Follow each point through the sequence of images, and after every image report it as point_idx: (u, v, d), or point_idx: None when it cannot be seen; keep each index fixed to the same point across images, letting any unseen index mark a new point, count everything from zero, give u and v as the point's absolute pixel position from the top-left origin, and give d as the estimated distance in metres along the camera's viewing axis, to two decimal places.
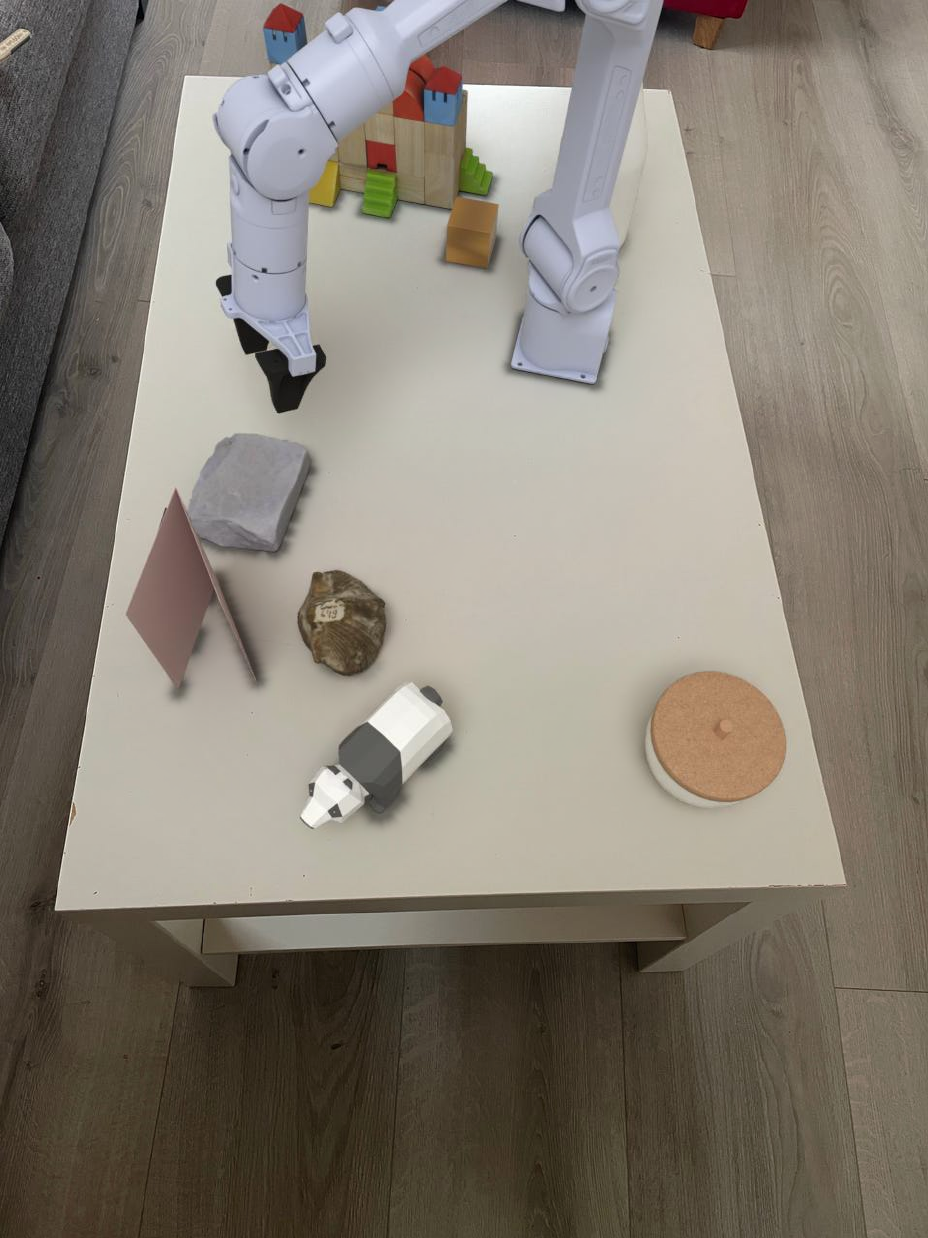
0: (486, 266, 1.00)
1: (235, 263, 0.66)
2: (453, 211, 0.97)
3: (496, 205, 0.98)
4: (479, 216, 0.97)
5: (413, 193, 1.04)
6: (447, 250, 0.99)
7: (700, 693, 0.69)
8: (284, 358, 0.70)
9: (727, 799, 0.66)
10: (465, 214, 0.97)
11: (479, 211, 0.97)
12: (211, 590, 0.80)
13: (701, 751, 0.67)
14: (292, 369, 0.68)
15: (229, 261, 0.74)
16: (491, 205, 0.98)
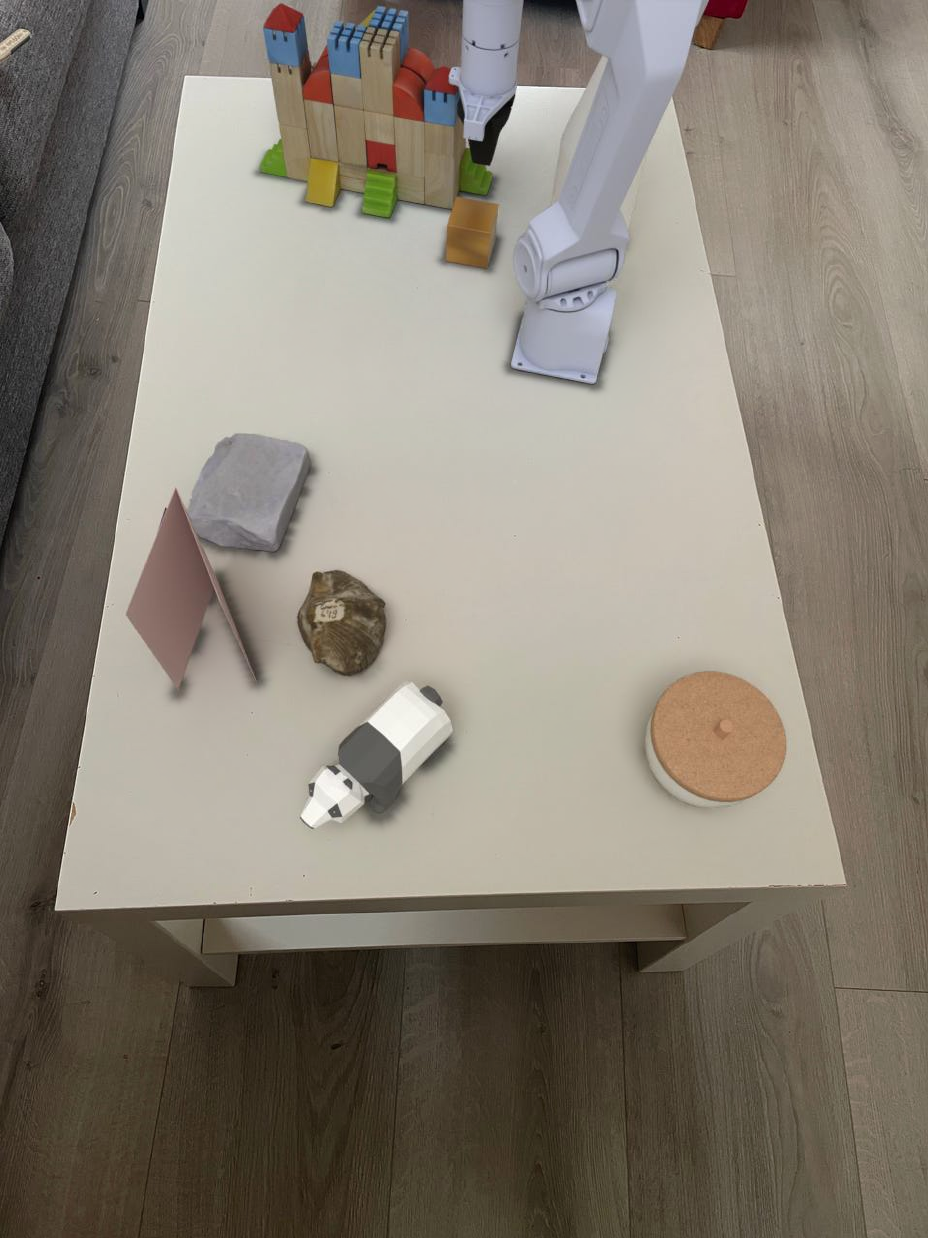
0: (486, 266, 1.00)
1: None
2: (453, 211, 0.97)
3: (496, 205, 0.98)
4: (479, 216, 0.97)
5: (413, 193, 1.04)
6: (447, 250, 0.99)
7: (700, 693, 0.69)
8: None
9: (727, 799, 0.66)
10: (465, 214, 0.97)
11: (479, 211, 0.97)
12: (211, 590, 0.80)
13: (701, 751, 0.67)
14: None
15: None
16: (491, 205, 0.98)
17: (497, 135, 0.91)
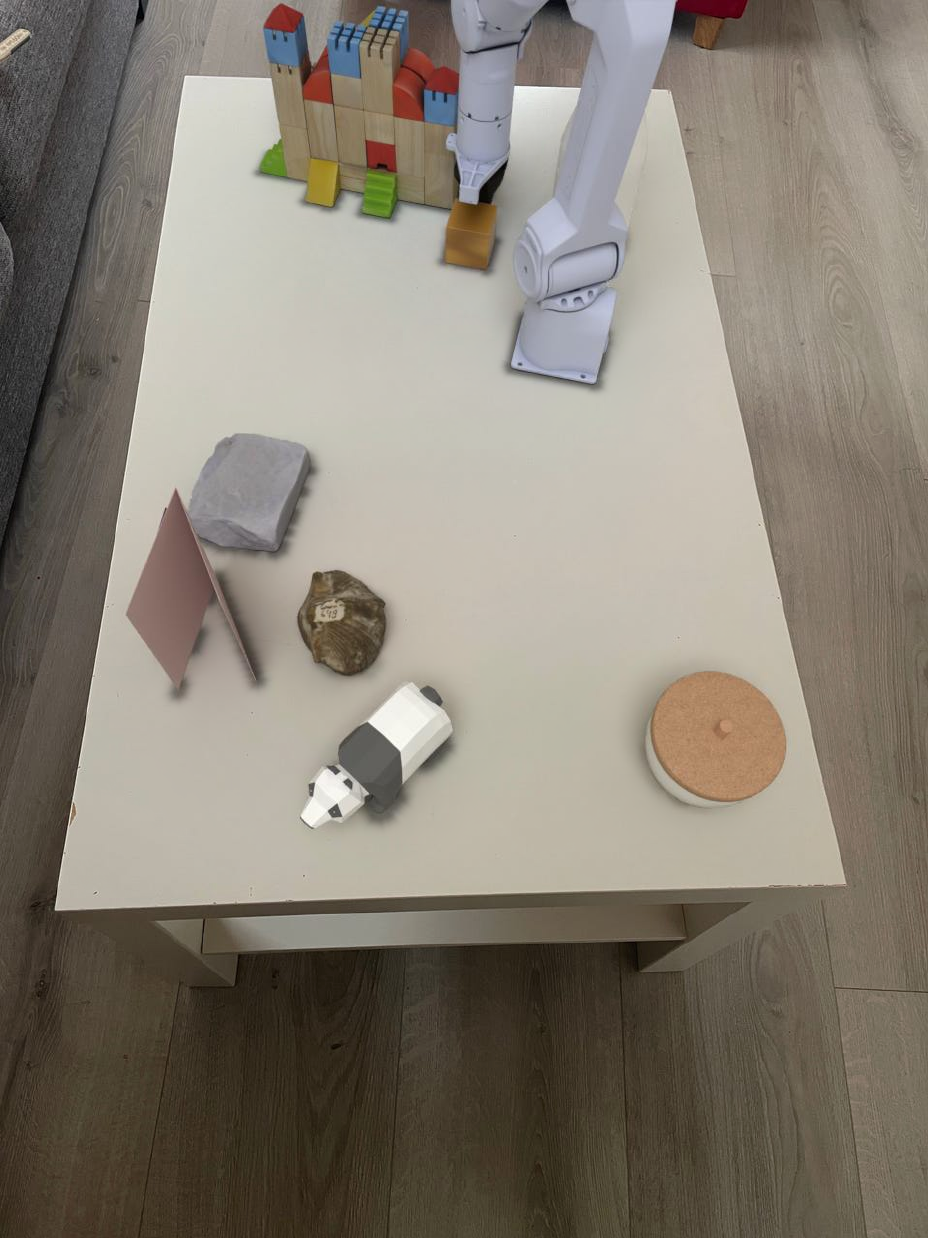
0: (485, 267, 1.00)
1: None
2: (452, 213, 0.97)
3: (495, 206, 0.98)
4: (478, 217, 0.97)
5: (413, 193, 1.04)
6: (446, 252, 0.99)
7: (700, 693, 0.69)
8: None
9: (727, 799, 0.66)
10: (464, 215, 0.97)
11: (478, 212, 0.97)
12: (211, 590, 0.80)
13: (701, 751, 0.67)
14: (459, 194, 0.91)
15: None
16: (490, 206, 0.98)
17: (492, 195, 0.97)
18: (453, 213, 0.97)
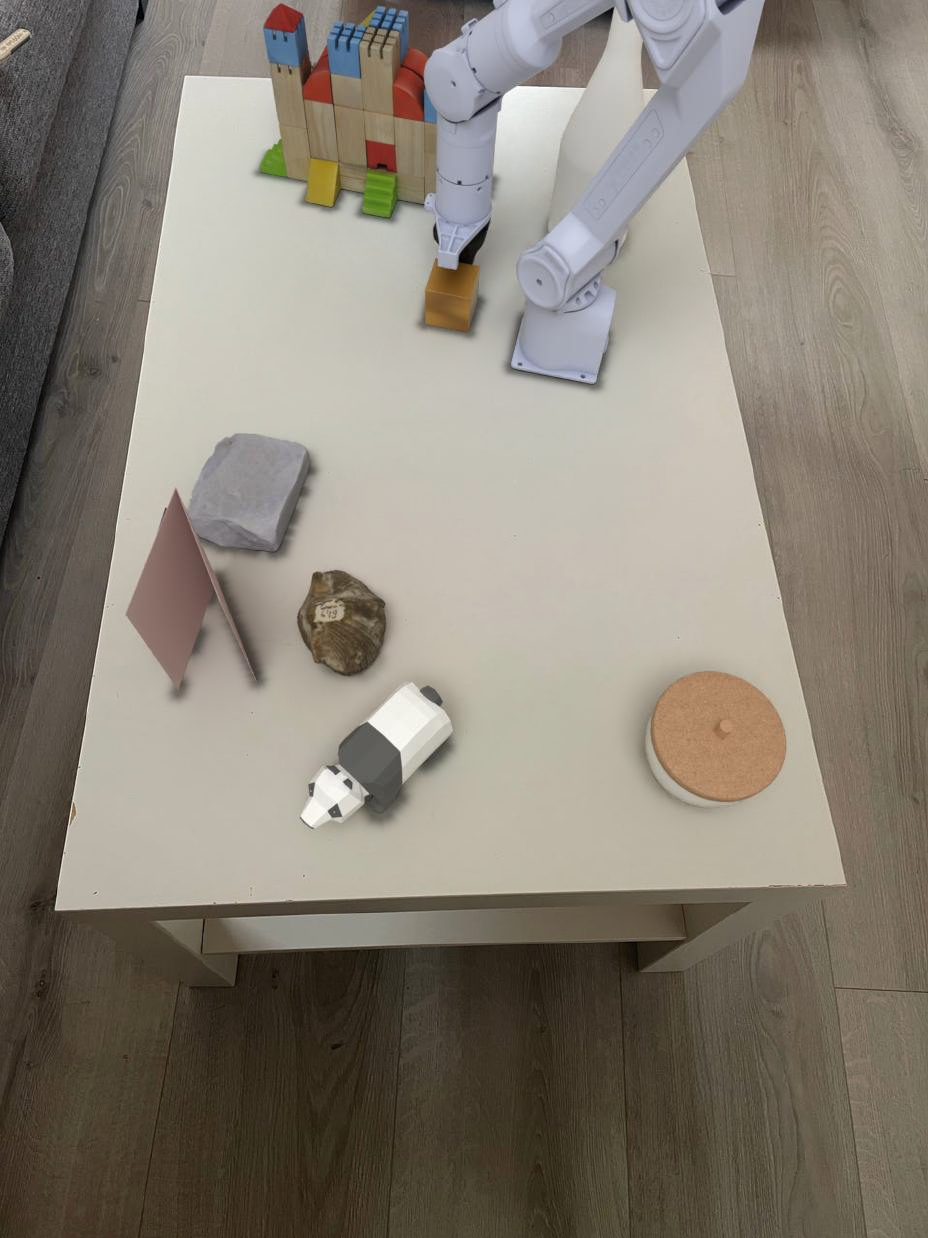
0: (467, 330, 0.95)
1: None
2: (432, 274, 0.93)
3: (477, 267, 0.93)
4: (459, 280, 0.92)
5: (413, 193, 1.04)
6: (426, 314, 0.95)
7: (700, 693, 0.69)
8: None
9: (727, 799, 0.66)
10: (444, 277, 0.92)
11: (458, 274, 0.93)
12: (211, 590, 0.80)
13: (701, 751, 0.67)
14: None
15: None
16: (472, 267, 0.93)
17: (473, 256, 0.92)
18: (433, 275, 0.93)
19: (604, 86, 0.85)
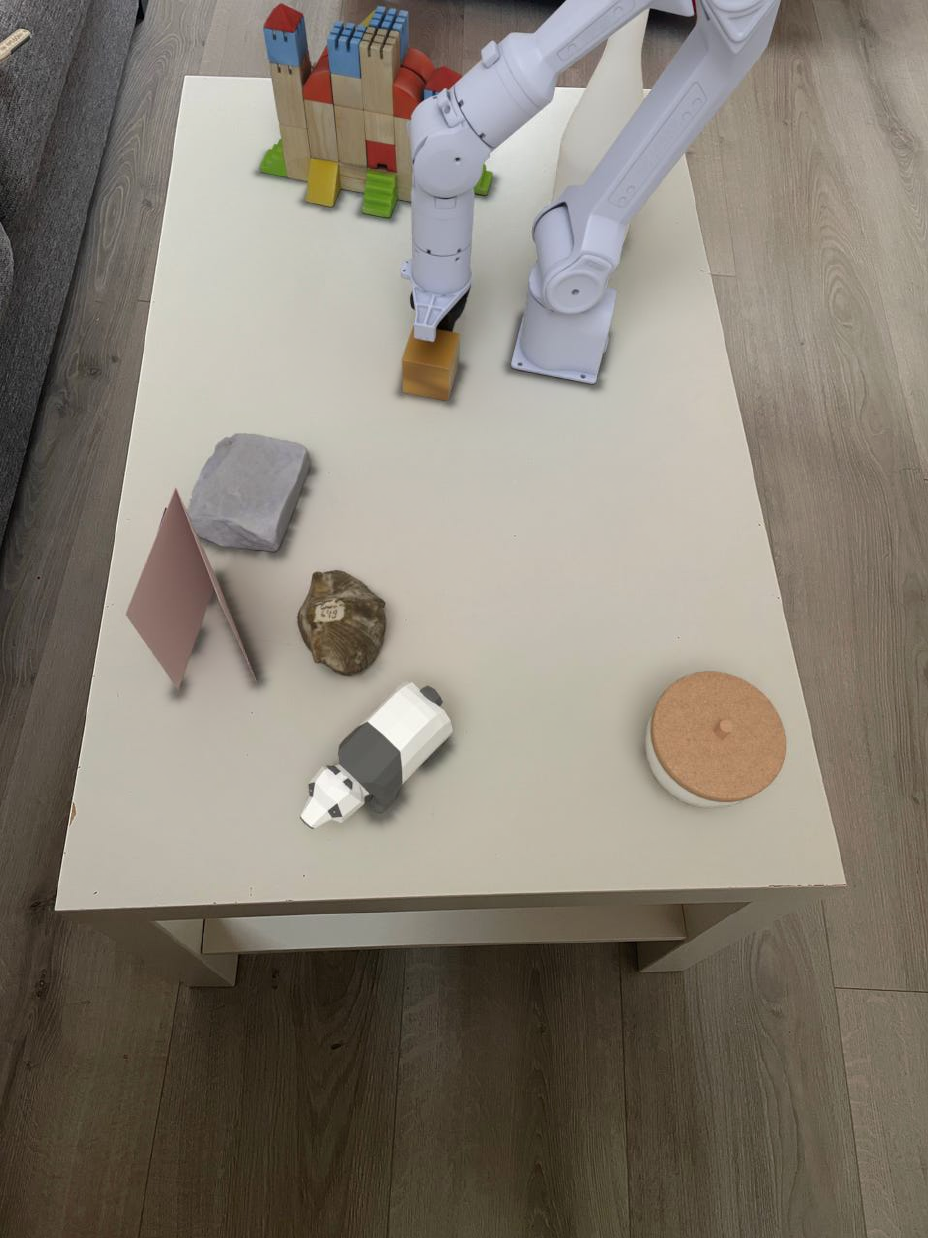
0: (447, 399, 0.91)
1: None
2: (409, 343, 0.88)
3: (457, 335, 0.89)
4: (438, 348, 0.88)
5: None
6: (403, 382, 0.90)
7: (700, 693, 0.69)
8: None
9: (727, 799, 0.66)
10: (422, 346, 0.88)
11: (437, 342, 0.88)
12: (211, 590, 0.80)
13: (701, 751, 0.67)
14: (414, 332, 0.82)
15: None
16: (451, 335, 0.89)
17: (453, 324, 0.88)
18: (410, 343, 0.88)
19: (604, 86, 0.85)
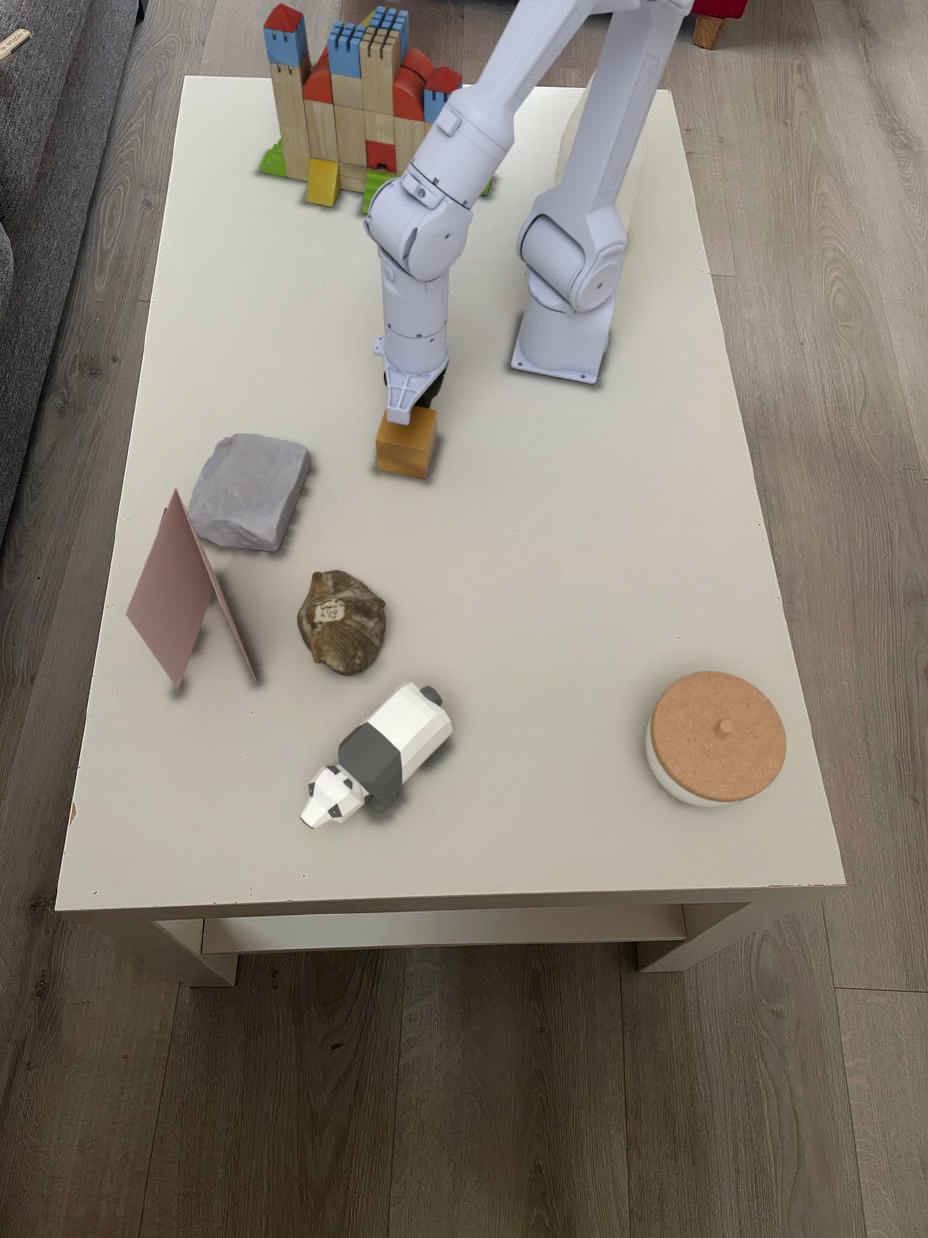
0: (424, 477, 0.86)
1: None
2: (383, 421, 0.83)
3: (434, 412, 0.84)
4: (414, 427, 0.83)
5: None
6: (378, 461, 0.86)
7: (700, 693, 0.69)
8: None
9: (727, 799, 0.66)
10: (397, 424, 0.83)
11: (413, 420, 0.84)
12: (211, 590, 0.80)
13: (701, 751, 0.67)
14: (387, 415, 0.78)
15: None
16: (428, 412, 0.84)
17: (429, 401, 0.83)
18: (384, 421, 0.83)
19: None
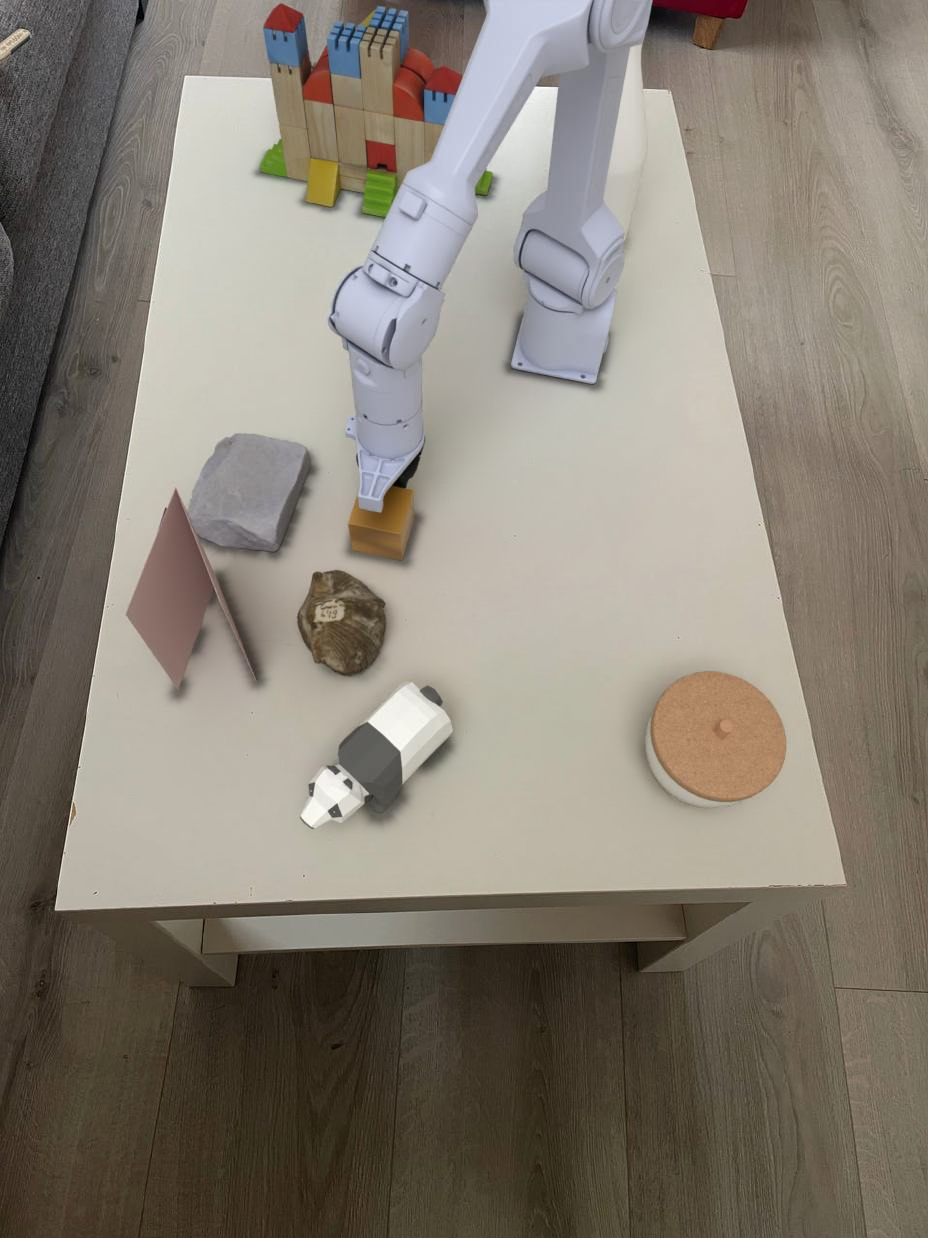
0: (401, 559, 0.82)
1: None
2: (357, 502, 0.79)
3: (410, 492, 0.80)
4: (388, 509, 0.79)
5: None
6: (352, 542, 0.81)
7: (700, 693, 0.69)
8: None
9: (727, 799, 0.66)
10: None
11: (388, 502, 0.79)
12: (211, 590, 0.80)
13: (701, 751, 0.67)
14: None
15: None
16: (404, 492, 0.80)
17: (405, 481, 0.79)
18: (358, 503, 0.79)
19: None
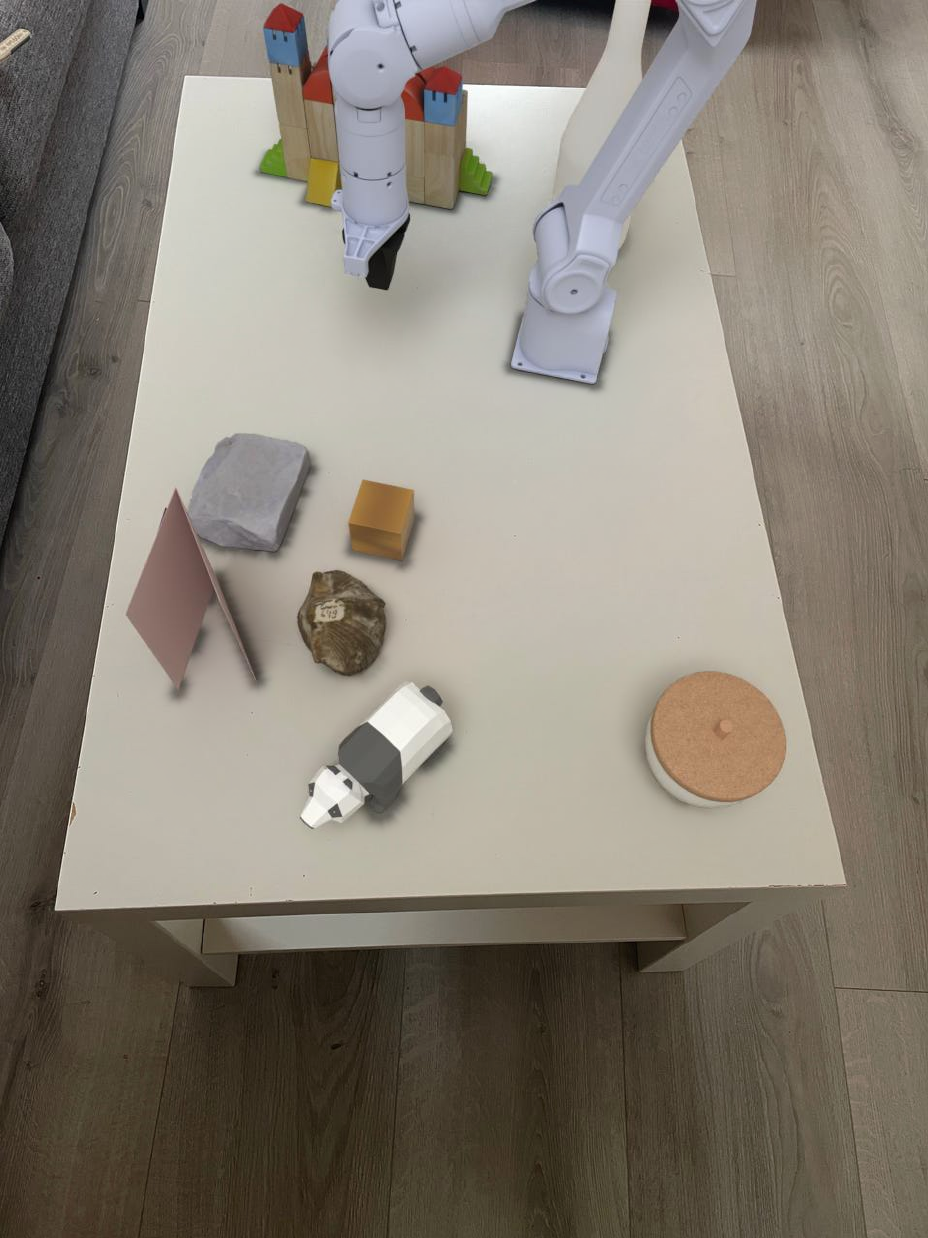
0: (401, 559, 0.82)
1: None
2: (357, 502, 0.79)
3: (411, 492, 0.80)
4: (389, 508, 0.79)
5: (413, 193, 1.04)
6: (352, 542, 0.81)
7: (700, 693, 0.69)
8: None
9: (727, 799, 0.66)
10: (372, 506, 0.79)
11: (388, 501, 0.79)
12: (211, 590, 0.80)
13: (701, 751, 0.67)
14: (344, 266, 0.75)
15: None
16: (404, 492, 0.80)
17: (390, 262, 0.81)
18: (358, 503, 0.79)
19: (604, 86, 0.85)
